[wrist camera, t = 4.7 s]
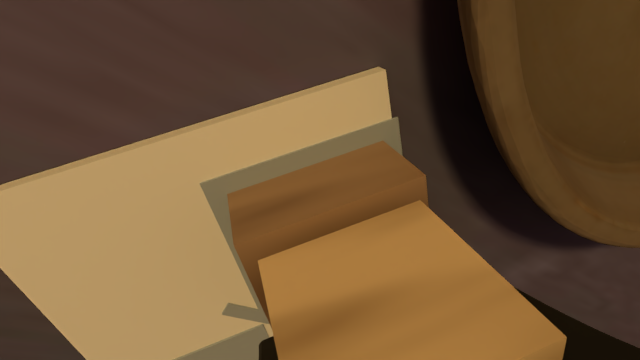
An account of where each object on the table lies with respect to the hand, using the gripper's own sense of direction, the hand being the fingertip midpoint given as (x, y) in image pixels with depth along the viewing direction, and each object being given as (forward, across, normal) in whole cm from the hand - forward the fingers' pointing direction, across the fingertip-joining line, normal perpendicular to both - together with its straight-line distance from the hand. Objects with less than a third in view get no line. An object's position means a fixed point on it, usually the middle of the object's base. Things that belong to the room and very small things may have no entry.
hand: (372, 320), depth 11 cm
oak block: (+1, 0, 0) cm, 1 cm away
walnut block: (+5, 0, 0) cm, 5 cm away
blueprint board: (+5, +4, +4) cm, 7 cm away
